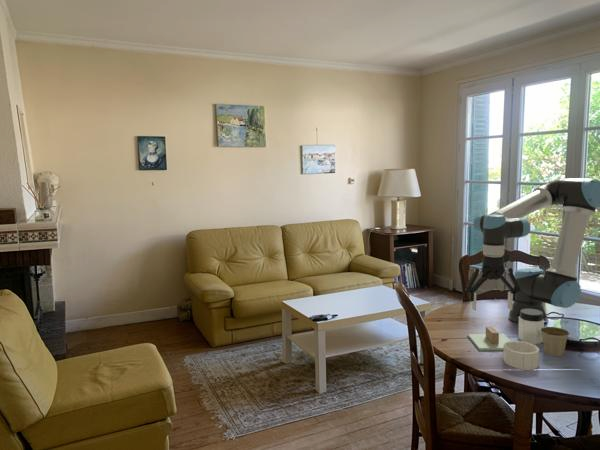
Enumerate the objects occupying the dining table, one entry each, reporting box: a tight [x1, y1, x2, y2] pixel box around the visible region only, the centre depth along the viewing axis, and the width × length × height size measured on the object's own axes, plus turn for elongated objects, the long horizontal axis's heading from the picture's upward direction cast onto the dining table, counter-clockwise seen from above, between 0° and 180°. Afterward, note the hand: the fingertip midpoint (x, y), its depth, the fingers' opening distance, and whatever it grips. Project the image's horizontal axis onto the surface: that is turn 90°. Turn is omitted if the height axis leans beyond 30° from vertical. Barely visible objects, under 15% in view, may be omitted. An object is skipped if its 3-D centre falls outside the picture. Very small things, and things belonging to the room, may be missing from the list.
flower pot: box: [540, 326, 570, 357], centre depth 163 cm, size 9×9×9 cm
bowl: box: [502, 340, 540, 372], centre depth 156 cm, size 11×11×6 cm
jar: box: [517, 309, 545, 345], centre depth 174 cm, size 9×8×12 cm
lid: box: [467, 325, 511, 352], centre depth 173 cm, size 14×14×6 cm
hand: (491, 309), depth 171 cm, fingers open, 13 cm apart
